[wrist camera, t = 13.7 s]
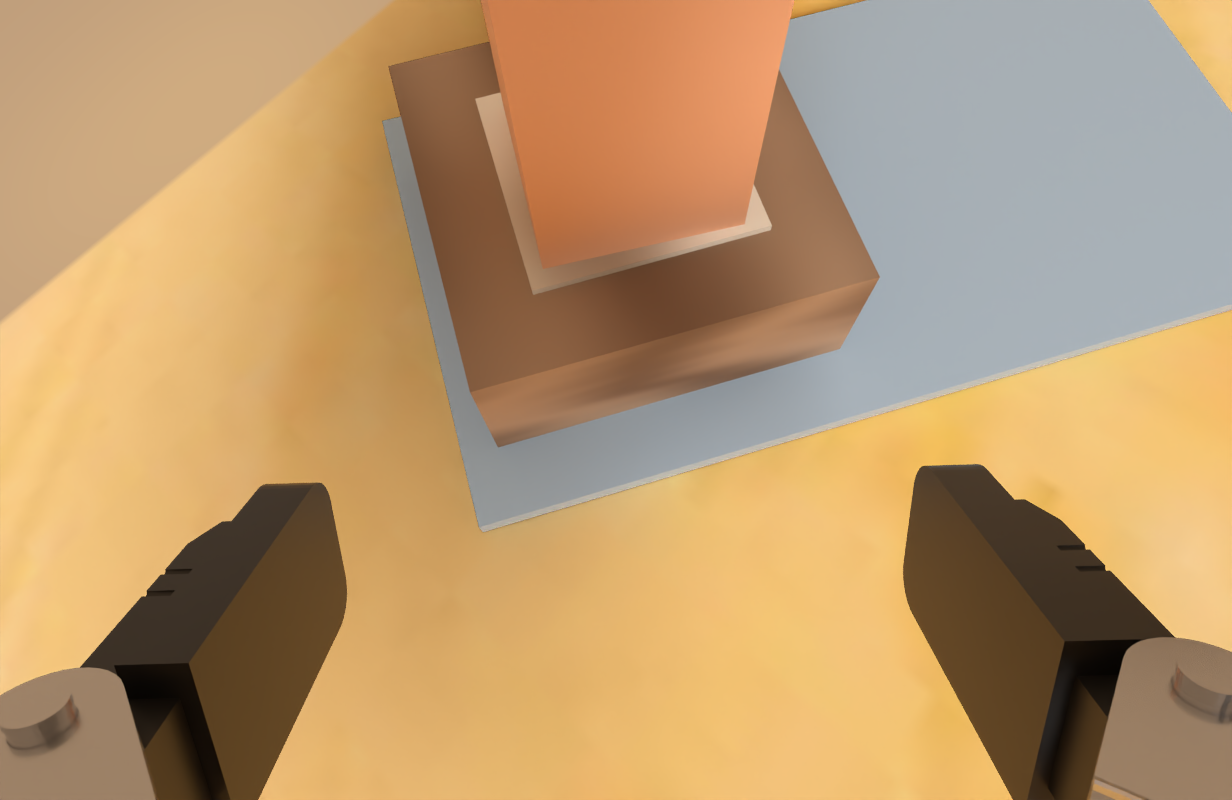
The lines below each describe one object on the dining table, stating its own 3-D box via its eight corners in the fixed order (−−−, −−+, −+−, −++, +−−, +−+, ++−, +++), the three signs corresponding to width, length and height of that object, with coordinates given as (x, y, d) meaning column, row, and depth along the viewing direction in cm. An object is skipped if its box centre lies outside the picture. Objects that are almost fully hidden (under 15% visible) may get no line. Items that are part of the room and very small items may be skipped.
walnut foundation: (722, 85, 26) (737, -24, 22) (840, 349, 23) (882, 272, 19) (424, 161, 25) (386, 60, 22) (498, 447, 22) (468, 389, 18)
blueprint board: (1095, -44, 29) (1104, -59, 28) (1331, 280, 24) (1347, 269, 23) (387, 133, 27) (382, 120, 26) (483, 532, 22) (479, 527, 21)
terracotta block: (688, 69, 21) (723, -353, 13) (744, 224, 19) (828, -151, 11) (503, 107, 21) (415, -300, 12) (542, 268, 19) (470, -82, 11)
